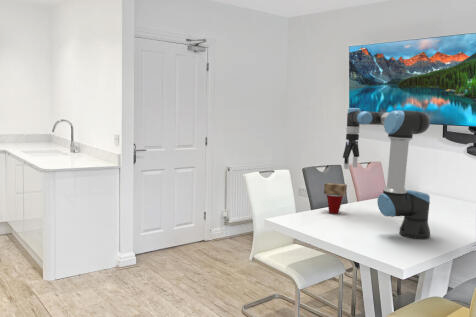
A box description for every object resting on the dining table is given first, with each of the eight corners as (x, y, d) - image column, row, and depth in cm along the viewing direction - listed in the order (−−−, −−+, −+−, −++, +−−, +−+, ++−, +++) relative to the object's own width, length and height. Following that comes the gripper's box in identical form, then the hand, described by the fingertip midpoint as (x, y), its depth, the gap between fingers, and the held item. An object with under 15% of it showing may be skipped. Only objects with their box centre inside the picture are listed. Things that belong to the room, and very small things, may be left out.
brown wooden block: (346, 194, 277) (346, 184, 277) (343, 195, 269) (344, 185, 269) (327, 192, 282) (327, 182, 282) (323, 193, 274) (324, 184, 274)
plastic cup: (341, 211, 282) (342, 192, 280) (343, 215, 271) (345, 196, 270) (324, 210, 283) (325, 191, 282) (325, 214, 272) (326, 195, 271)
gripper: (354, 132, 283) (352, 165, 286) (338, 133, 263) (336, 169, 265) (365, 133, 279) (363, 167, 281) (350, 134, 259) (348, 170, 261)
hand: (350, 168), depth 273 cm, fingers open, 13 cm apart
